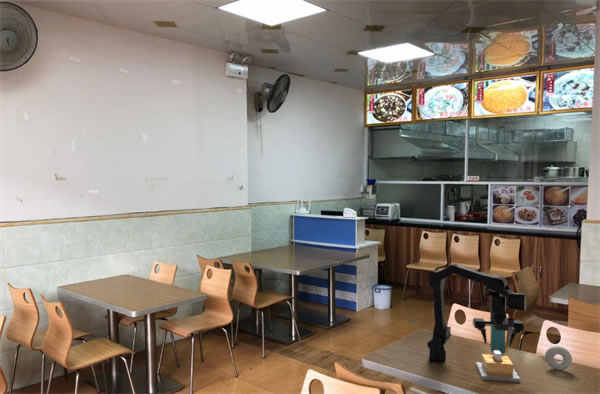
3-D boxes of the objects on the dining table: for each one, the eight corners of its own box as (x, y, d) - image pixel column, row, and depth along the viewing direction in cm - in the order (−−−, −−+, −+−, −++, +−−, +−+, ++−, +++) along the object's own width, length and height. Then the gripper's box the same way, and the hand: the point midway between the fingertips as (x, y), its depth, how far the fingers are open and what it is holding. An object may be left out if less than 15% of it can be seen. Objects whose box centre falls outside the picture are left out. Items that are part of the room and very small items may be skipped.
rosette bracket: (482, 379, 183) (482, 364, 183) (475, 364, 198) (475, 350, 198) (520, 382, 180) (520, 367, 180) (510, 367, 195) (510, 353, 195)
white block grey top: (495, 375, 187) (495, 353, 186) (493, 371, 191) (493, 350, 190) (501, 376, 186) (501, 354, 186) (499, 372, 190) (499, 350, 190)
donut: (571, 370, 192) (571, 346, 192) (572, 373, 189) (573, 349, 188) (544, 366, 196) (544, 343, 196) (545, 369, 193) (545, 345, 192)
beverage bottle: (507, 358, 205) (507, 313, 205) (491, 356, 207) (492, 312, 206) (503, 352, 212) (504, 309, 211) (488, 351, 213) (489, 308, 212)
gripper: (477, 311, 181) (477, 350, 182) (528, 314, 178) (527, 353, 178) (472, 304, 192) (472, 341, 193) (520, 306, 189) (520, 343, 189)
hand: (497, 345), depth 188 cm, fingers open, 9 cm apart
